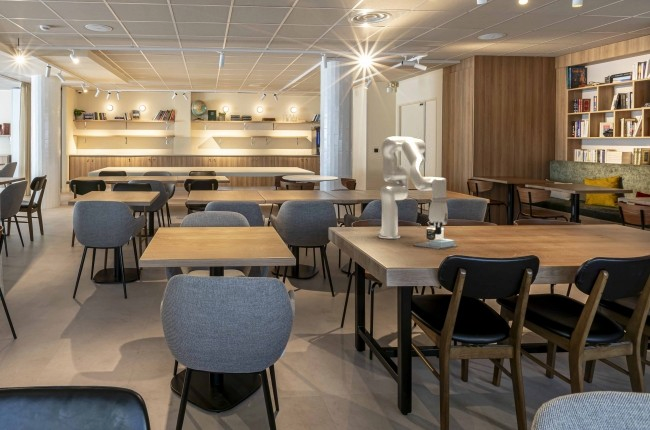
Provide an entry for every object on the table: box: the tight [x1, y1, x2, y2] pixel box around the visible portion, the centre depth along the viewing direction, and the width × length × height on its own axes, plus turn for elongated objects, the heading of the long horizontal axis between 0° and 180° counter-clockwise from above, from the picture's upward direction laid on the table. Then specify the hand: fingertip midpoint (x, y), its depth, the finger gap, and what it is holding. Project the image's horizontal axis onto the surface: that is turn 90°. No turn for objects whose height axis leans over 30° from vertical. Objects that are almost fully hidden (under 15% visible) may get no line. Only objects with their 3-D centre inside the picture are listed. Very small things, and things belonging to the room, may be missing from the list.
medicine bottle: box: [425, 221, 445, 242], centre depth 365 cm, size 7×7×12 cm
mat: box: [412, 241, 458, 250], centre depth 345 cm, size 18×16×1 cm
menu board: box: [429, 238, 456, 248], centre depth 340 cm, size 3×11×8 cm
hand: (438, 234), depth 342 cm, fingers closed
